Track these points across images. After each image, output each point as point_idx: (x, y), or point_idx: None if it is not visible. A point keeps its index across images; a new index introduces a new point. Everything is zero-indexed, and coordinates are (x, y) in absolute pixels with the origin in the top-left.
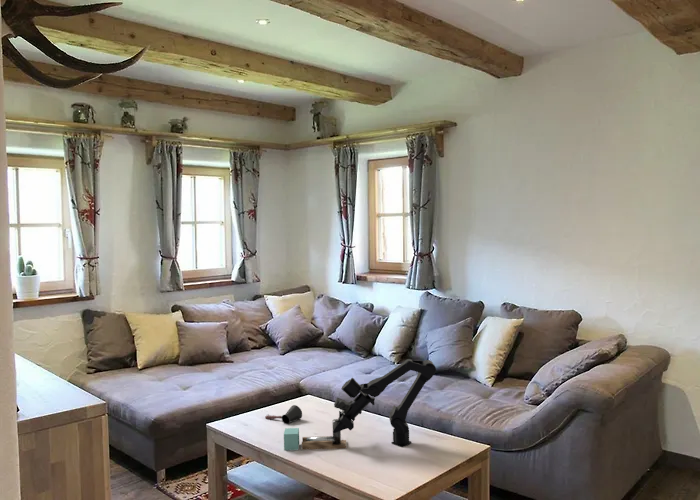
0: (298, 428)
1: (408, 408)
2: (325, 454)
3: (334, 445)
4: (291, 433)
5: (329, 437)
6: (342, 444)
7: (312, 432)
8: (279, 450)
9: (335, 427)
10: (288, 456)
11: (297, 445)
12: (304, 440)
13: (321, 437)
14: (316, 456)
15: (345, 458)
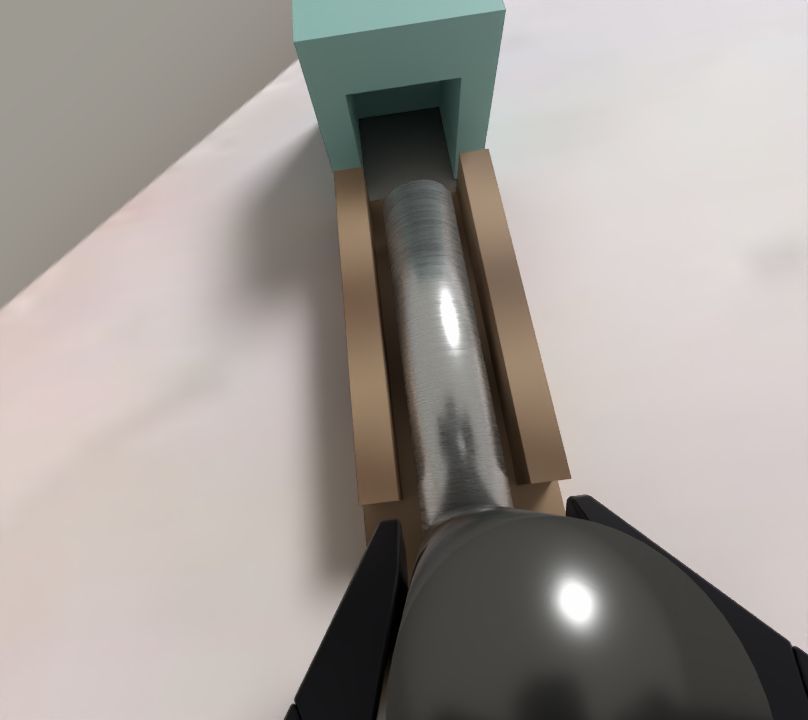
0: (486, 9)
1: None
2: (220, 448)
3: None
4: None
5: (441, 452)
6: None
7: (798, 225)
8: None
9: (331, 626)
10: (216, 159)
11: (331, 159)
12: (460, 189)
13: (427, 341)
14: (183, 367)
15: (71, 716)
